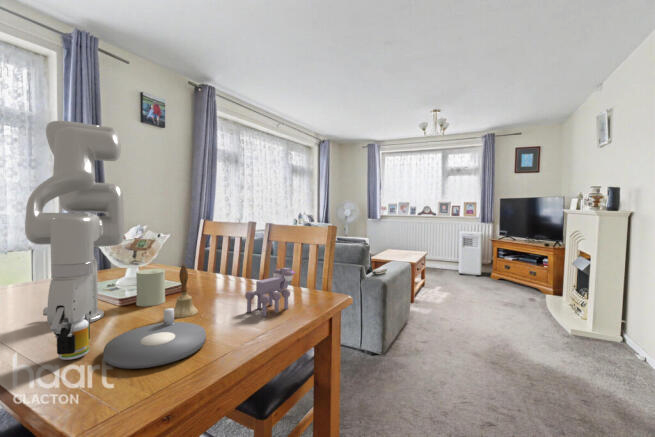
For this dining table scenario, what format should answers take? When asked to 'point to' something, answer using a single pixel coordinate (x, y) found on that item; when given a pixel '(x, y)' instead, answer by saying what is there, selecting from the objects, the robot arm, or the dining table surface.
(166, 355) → the turntable
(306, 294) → the dining table surface
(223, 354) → the dining table surface
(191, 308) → the hand bell
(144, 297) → the can
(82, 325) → the supplement bottle
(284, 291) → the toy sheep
